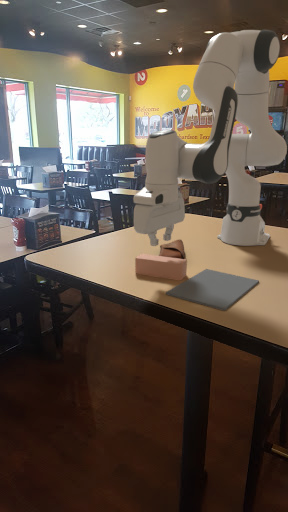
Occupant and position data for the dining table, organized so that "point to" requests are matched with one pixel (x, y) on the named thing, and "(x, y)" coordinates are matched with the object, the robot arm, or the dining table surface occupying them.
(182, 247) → the sunglasses case
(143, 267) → the pink rectangular brick
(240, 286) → the mat
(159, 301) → the dining table surface
